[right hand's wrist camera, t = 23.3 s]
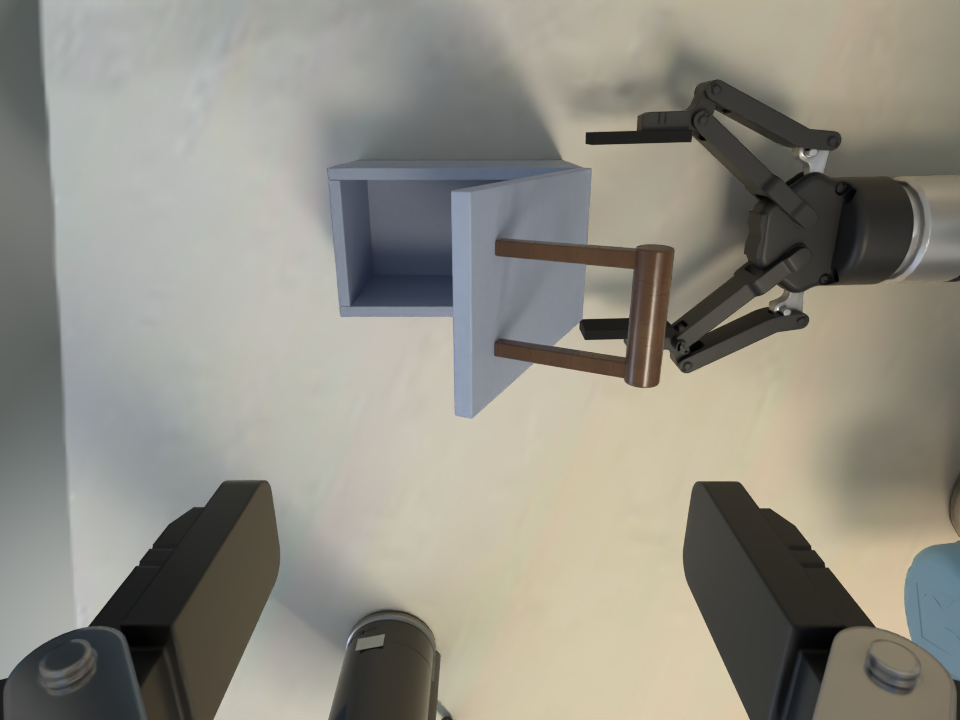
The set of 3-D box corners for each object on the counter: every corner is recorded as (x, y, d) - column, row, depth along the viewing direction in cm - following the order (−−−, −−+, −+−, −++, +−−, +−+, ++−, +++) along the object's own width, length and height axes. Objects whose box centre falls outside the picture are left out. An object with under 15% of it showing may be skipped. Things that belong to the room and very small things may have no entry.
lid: (454, 415, 27) (640, 456, 23) (450, 190, 23) (668, 200, 20) (569, 318, 41) (697, 335, 37) (578, 167, 37) (719, 171, 34)
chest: (366, 281, 50) (340, 316, 41) (358, 160, 47) (327, 167, 37) (557, 281, 50) (575, 316, 41) (562, 159, 47) (583, 167, 37)
